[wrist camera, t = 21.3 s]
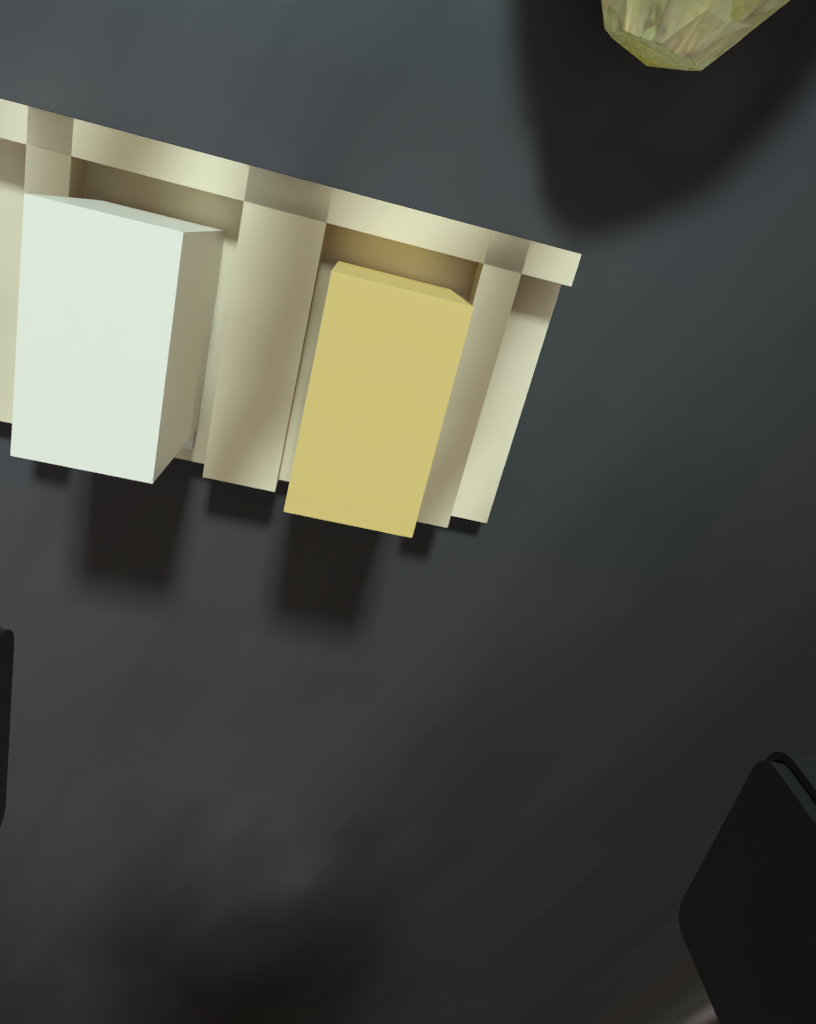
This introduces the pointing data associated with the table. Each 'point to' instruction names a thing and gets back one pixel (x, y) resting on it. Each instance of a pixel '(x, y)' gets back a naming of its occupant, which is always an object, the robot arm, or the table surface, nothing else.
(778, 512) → the table surface
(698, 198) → the table surface
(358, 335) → the ochre bar
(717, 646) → the table surface
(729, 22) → the lettuce
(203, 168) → the slot board
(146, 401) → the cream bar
